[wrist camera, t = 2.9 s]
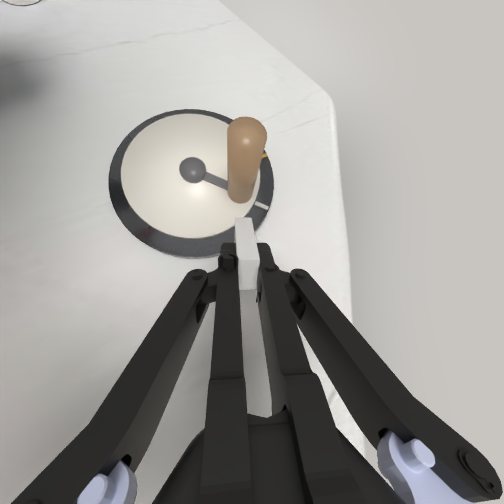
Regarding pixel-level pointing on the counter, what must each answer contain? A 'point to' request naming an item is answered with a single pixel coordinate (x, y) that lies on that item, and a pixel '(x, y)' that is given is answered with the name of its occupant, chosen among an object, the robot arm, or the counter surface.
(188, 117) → the dial
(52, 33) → the counter surface
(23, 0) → the white cup
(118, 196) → the dial base
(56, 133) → the counter surface
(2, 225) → the counter surface
